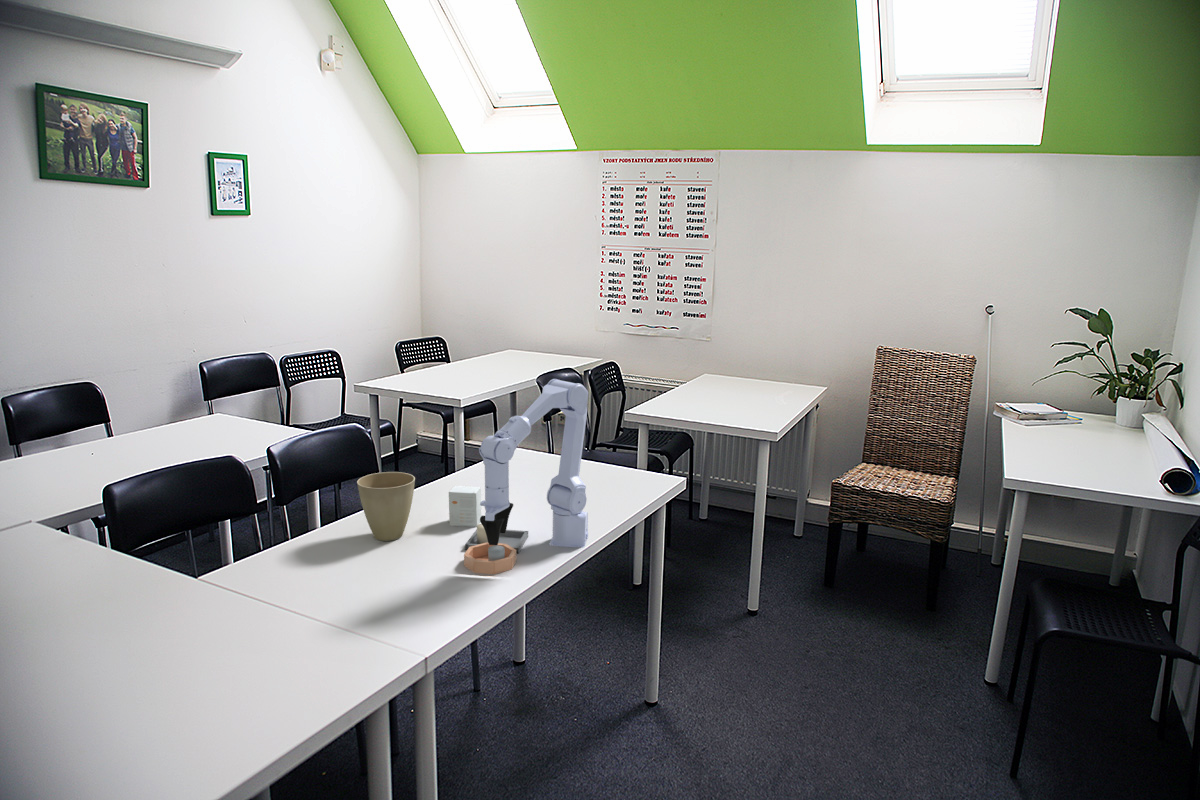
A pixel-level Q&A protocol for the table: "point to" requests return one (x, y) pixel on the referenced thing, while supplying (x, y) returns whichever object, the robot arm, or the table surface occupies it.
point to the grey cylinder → (496, 553)
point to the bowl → (479, 559)
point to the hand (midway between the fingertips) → (497, 538)
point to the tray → (504, 539)
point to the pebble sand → (481, 534)
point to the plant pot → (387, 502)
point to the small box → (465, 506)
